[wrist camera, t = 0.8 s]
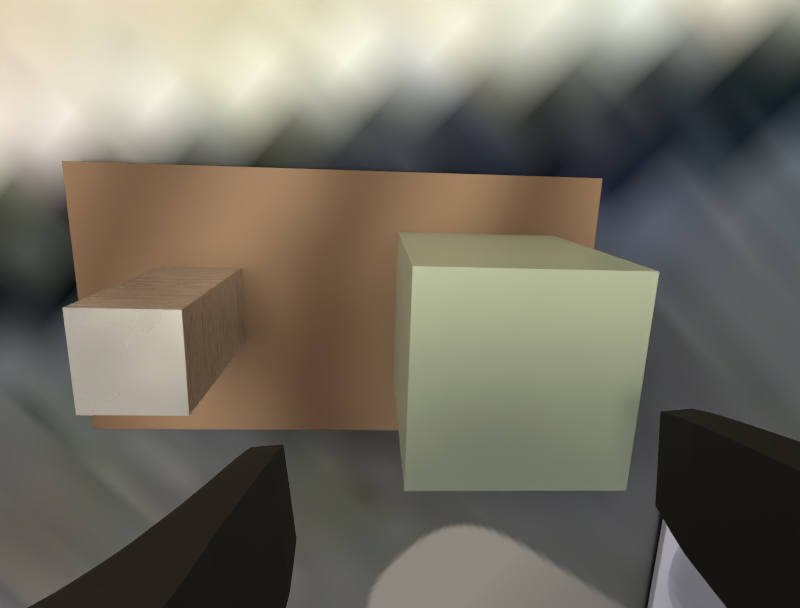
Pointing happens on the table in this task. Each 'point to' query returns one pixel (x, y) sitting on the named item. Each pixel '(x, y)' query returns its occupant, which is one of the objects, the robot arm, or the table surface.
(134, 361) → the post
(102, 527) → the table surface
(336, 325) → the board
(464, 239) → the pale green block
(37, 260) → the table surface
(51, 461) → the table surface
